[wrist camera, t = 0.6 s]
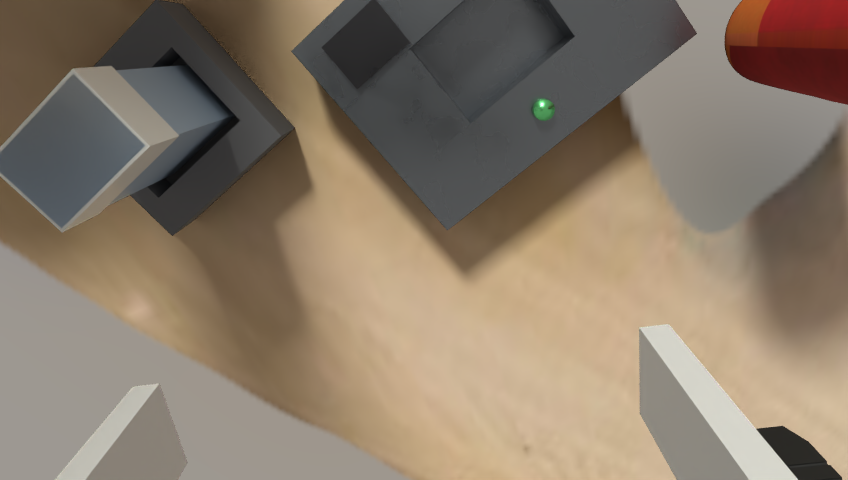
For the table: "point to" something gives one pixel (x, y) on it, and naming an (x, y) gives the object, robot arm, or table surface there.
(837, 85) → the coffee cup
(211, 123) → the plug
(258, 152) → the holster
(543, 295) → the table surface
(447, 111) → the port panel
